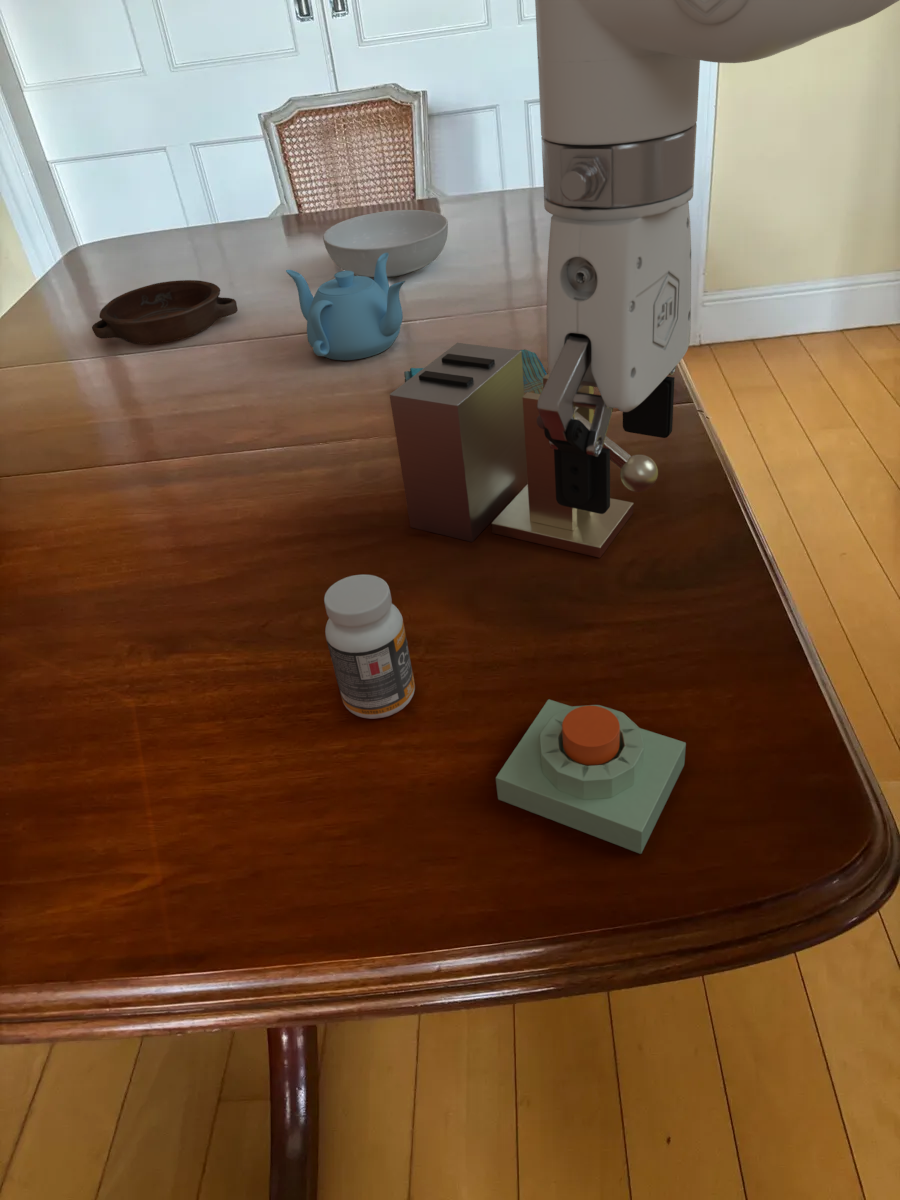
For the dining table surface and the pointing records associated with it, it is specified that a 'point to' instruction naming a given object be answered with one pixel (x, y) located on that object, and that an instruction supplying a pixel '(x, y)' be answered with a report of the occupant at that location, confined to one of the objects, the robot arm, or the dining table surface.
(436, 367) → the toaster
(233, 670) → the dining table surface
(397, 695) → the pill bottle
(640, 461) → the lever
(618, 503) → the bracket
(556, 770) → the timer block
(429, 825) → the dining table surface
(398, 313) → the teapot
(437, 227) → the serving bowl
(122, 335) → the dish
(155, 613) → the dining table surface
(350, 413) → the dining table surface
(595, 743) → the timer button
